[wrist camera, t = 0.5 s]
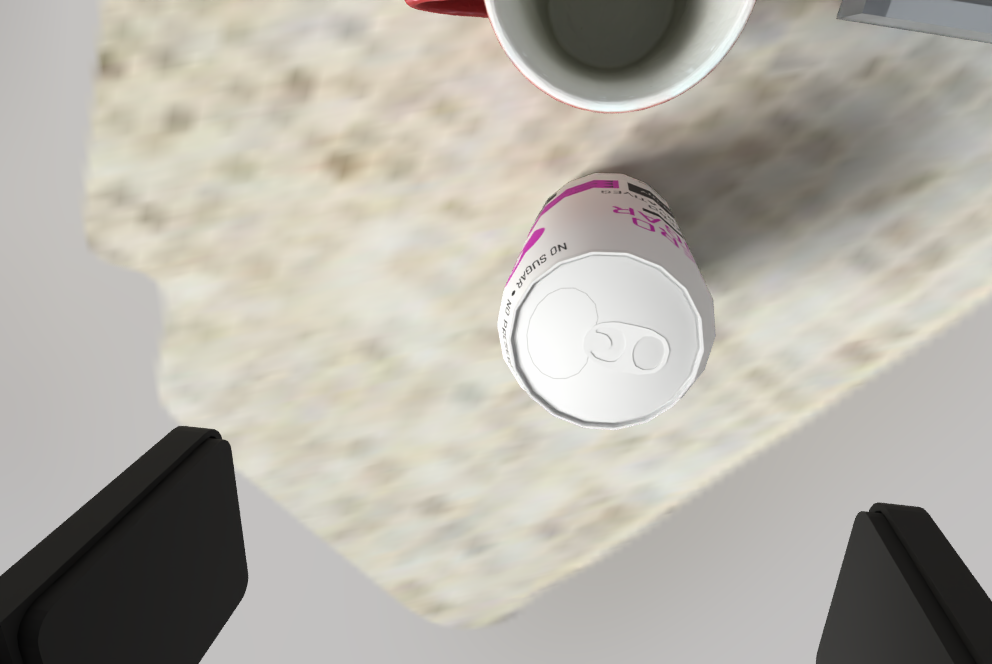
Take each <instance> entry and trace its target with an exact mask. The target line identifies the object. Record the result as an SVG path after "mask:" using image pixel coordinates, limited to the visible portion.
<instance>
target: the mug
mask: <svg viewBox="0 0 992 664" xmlns="http://www.w3.org/2000/svg"><path fill="white" fill-rule="evenodd" d="M405 2H406V3H407V4H408V5H409V6H410V7H412V8H415V9H418V10H423V11H428V12H433V13H440V14H448V15H454V16H455V15H458V16H472V17H483V18H489V20H490V23H491V26H492V28H493V30H494V32H495V35H496V37H497V39H498V41H499V43H500V45H501V46H502V48H503V49H504V51H505V53H506V55H507V56H508V58H509V59H510V60H511V62H512V63H513V64H514V66H515V67H516V68H517V69H518V70H519V71H520V72H521V73H522V74H523V75H524V76H525V77H526V78H527V79H528V80H529V81H530V82H531V83H532V84H533V85H535V86H536V87H537V88H538V89H540V90H541V91H543V92H544V93H546V94H547V95H549V96H551V97H552V98H554V99H556V100H558V101H560V102H562V103H564V104H567V105H570V106H572V107H575V108H578V109H582V110H588V111H592V112H598V113H625V112H633V111H639V110H643V109H647V108H650V107H653V106H656V105H659V104H662V103H665V102H667V101H669V100H671V99H673V98H675V97H677V96H679V95H681V94H683V93H684V92H686V91H687V90H689V89H690V88H692V87H693V86H695V85H696V84H698V83H699V82H700V81H701V80H703V79H704V78H705V77H706V76H707V75H708V74H709V73H710V72H711V71H712V70H713V69H714V68H715V67H716V66H717V65H718V64H719V63H720V62H721V61H722V59H723V58H724V57H725V56H726V55H727V53H728V52H729V51H730V49H731V48H732V47H733V45H734V44H735V42H736V41H737V39H738V38H739V36H740V34H741V33H742V31H743V29H744V27H745V25H746V23H747V21H748V19H749V17H750V15H751V12H752V10H753V8H754V5H755V2H756V0H405Z"/></svg>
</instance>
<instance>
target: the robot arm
mask: <svg viewBox="0 0 992 664" xmlns="http://www.w3.org/2000/svg"><path fill="white" fill-rule="evenodd" d="M247 583H248V569H247V562H246V556H245V548H244V540H243V532H242V525H241V518H240V510H239V503H238V495H237V488H236V481H235V473H234V465H233V458H232V451H231V446H230V444H229V442H228V441H226V440H222V437H221V435H220V433H219V432H218V431H217V430H215V429H207V428H197V427H188V426H178V427H176V428H175V429H173V430H172V431H171V432H170V433H168V434H167V435H166V436H165V437H164V438H163V439H161V440H160V441H159V442H158V443H157V444H155V445H154V446H153V447H152V448H151V449H150V450H148V451H147V452H146V453H145V454H144V455H142V456H141V457H140V458H139V459H138V460H137V461H135V462H134V463H133V464H132V465H131V466H130V467H128V468H127V469H126V470H125V471H124V472H122V473H121V474H120V475H119V476H118V477H117V478H115V479H114V480H113V481H112V482H111V483H110V484H108V485H107V486H106V487H105V488H104V489H102V490H101V491H100V492H99V493H98V494H97V495H95V496H94V497H93V498H92V499H91V500H90V501H88V502H87V503H86V504H85V505H84V506H82V507H81V508H80V509H79V510H78V511H77V512H75V513H74V514H73V515H72V516H71V517H70V518H68V519H67V520H66V521H65V522H64V523H63V524H61V525H60V526H59V527H58V528H56V529H55V530H54V531H53V532H52V533H51V534H49V535H48V536H47V537H46V538H45V539H43V540H42V541H41V542H40V543H39V544H38V545H36V547H34V548H33V549H32V550H31V551H29V552H28V553H27V554H26V555H25V556H24V557H22V558H21V559H20V560H19V561H18V562H17V563H15V564H14V565H13V566H12V567H11V568H9V569H8V570H7V571H6V572H5V573H4V574H2V575H1V576H0V664H199V662H200V661H201V659H202V657H203V656H204V655H205V653H206V652H207V650H208V649H209V647H210V646H211V644H212V643H213V641H214V640H215V638H216V637H217V635H218V634H219V632H220V631H221V630H222V628H223V627H224V625H225V624H226V622H227V621H228V619H229V618H230V616H231V615H232V613H233V611H234V610H235V609H236V607H237V606H238V604H239V603H240V601H241V600H242V598H243V596H244V594H245V591H246V587H247ZM816 664H992V601H991V600H990V598H989V597H988V596H987V594H986V593H985V591H984V590H983V589H982V587H981V586H980V584H979V583H978V582H977V580H976V579H975V578H974V576H973V575H972V573H971V572H970V571H969V569H968V568H967V566H966V565H965V564H964V562H963V561H962V559H961V558H960V557H959V555H958V554H957V553H956V551H955V550H954V548H953V547H952V546H951V544H950V543H949V541H948V540H947V539H946V537H945V536H944V534H943V533H942V532H941V530H940V529H939V528H938V526H937V525H936V523H935V522H934V521H933V519H932V518H931V516H930V515H929V514H928V513H927V512H926V511H925V510H924V509H923V508H920V507H914V506H905V505H896V504H887V503H875V504H873V506H872V507H871V508H870V510H869V512H864V511H861V512H859V513H858V515H857V516H856V518H855V521H854V524H853V528H852V531H851V535H850V539H849V542H848V546H847V549H846V553H845V556H844V560H843V563H842V567H841V570H840V574H839V578H838V581H837V585H836V588H835V592H834V595H833V599H832V602H831V606H830V609H829V613H828V616H827V620H826V624H825V627H824V630H823V634H822V638H821V641H820V644H819V648H818V652H817V657H816Z"/></svg>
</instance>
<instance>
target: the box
mask: <svg viewBox="0 0 992 664" xmlns="http://www.w3.org/2000/svg"><path fill="white" fill-rule="evenodd" d="M836 19H842V20H848V21H854V22H861V23H867V24H873V25H879V26H886V27H892V28H898V29H904V30H911V31H917V32H923V33H930V34H936V35H942V36H948V37H955V38H961V39H967V40H974V41H980V42H986V43H992V0H842V3H841V6H840V9H839V12H838V15H837V18H836Z"/></svg>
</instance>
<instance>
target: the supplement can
mask: <svg viewBox="0 0 992 664" xmlns="http://www.w3.org/2000/svg"><path fill="white" fill-rule="evenodd" d="M497 326H498V331H499V337H500V342H501V348H502V353H503V358H504V360H505V361H506V363H507V365H508V366H509V368H510V370H511V371H512V373H513V375H514V376H515V378H516V380H517V381H518V383H519V385H520V386H521V388H523V389H524V390H525V391H526V392H527V393H528V395H529V396H530V397H531V398H532V399H533V400H534V401H536V402H537V403H538V404H539V405H540V406H542V407H543V408H544V409H545V410H546V411H548V412H549V413H550V414H551V415H553V416H554V417H557V418H559V419H562V420H564V421H567V422H570V423H572V424H575V425H577V426H580V427H582V428H593V429H607V430H617V429H622V428H626V427H630V426H634V425H638V424H643V423H647V422H648V421H650V420H652V419H653V418H655V417H656V416H658V415H660V414H661V413H663V412H665V411H666V410H668V409H669V408H671V407H673V406H674V405H675V404H676V403H677V402H678V400H679V399H680V398H682V397H683V396H684V394H685V393H686V392H687V391H688V390H689V388H690V387H691V386H692V385H693V383H694V382H695V381H696V380H697V378H698V377H699V376H700V375H701V373H702V372H703V371H704V370H705V367H706V364H707V361H708V358H709V355H710V351H711V348H712V345H713V342H714V339H715V336H716V334H715V319H714V304H713V298H712V296H711V294H710V292H709V290H708V288H707V285H706V283H705V281H704V279H703V277H702V275H701V273H700V271H699V268H698V266H697V264H696V262H695V260H694V258H693V256H692V254H691V251H690V249H689V247H688V245H687V243H686V241H685V239H684V237H683V234H682V232H681V230H680V228H679V226H678V224H677V222H676V220H675V218H674V216H673V214H672V212H671V210H670V208H669V206H668V204H667V202H666V200H664V199H663V198H662V197H661V196H660V195H659V194H658V193H657V192H656V191H655V190H653V189H652V188H651V187H650V186H649V185H648V184H647V183H645V182H642V181H639V180H637V179H634V178H632V177H629V176H627V175H624V174H618V173H593V174H590V175H587V176H585V177H582V178H579V179H576V180H573V181H570V182H568V183H567V184H566V185H564V186H563V187H562V188H561V189H559V190H558V191H557V192H556V193H554V194H553V195H552V196H551V197H549V198H548V200H547V201H546V203H545V205H544V206H543V208H542V210H541V211H540V213H539V214H538V216H537V218H536V219H535V221H534V224H533V226H532V228H531V230H530V232H529V235H528V237H527V239H526V241H525V244H524V246H523V248H522V250H521V253H520V255H519V257H518V259H517V262H516V264H515V266H514V268H513V270H512V273H511V275H510V277H509V279H508V282H507V284H506V286H505V288H504V291H503V296H502V302H501V307H500V312H499V318H498V323H497Z"/></svg>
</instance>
